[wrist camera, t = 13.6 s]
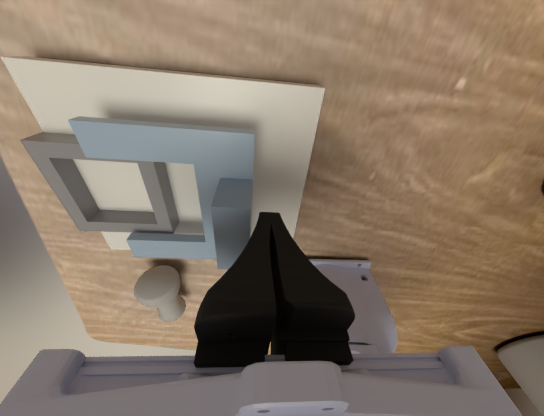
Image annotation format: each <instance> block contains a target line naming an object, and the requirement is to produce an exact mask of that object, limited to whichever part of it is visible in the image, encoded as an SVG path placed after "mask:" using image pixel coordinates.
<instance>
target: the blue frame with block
mask: <svg viewBox="0 0 544 416" xmlns="http://www.w3.org/2000/svg"><path fill="white" fill-rule="evenodd" d="M68 122H69V124H70V126H71V128H72V130H73V132H74V134H75V136H76V138H77V140H78V142H79V144H80V146H81V148H82V150H83V152H84V155H85V157H86V158H102V159H118V160H134V161H150V162H166V163H183V164H194V170H195V177H196V183H197V189H198V196H199V202H200V209H201V215H202V221H203V228H204V234H205V235H189V234H160V233H131V234H130V235H129V237H128V238H127V239H126V241H127V243H128V245H129V247H130V249H131V251H132V253H133V255H134V257H150V258H190V259H217V266H218V269H229V268H230V267H231V266H232V265H233V263H234V262H235V261H236V259H237V258H238V257H239V255H240V254H241V252H242V251H243V249H244V248H245V246H246V245H247V243H248V241H249V239H250V237H251V229H252V200H253V172H254V143H255V130H251V129H238V128H225V127H213V126H200V125H187V124H174V123H161V122H148V121H135V120H122V119H109V118H96V117H83V116H78V117H75V118H72V119H69V120H68Z"/></svg>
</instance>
